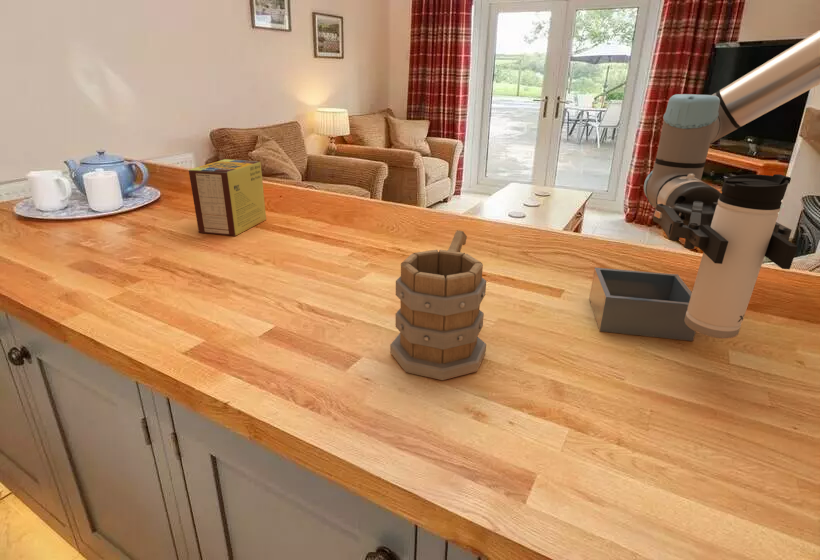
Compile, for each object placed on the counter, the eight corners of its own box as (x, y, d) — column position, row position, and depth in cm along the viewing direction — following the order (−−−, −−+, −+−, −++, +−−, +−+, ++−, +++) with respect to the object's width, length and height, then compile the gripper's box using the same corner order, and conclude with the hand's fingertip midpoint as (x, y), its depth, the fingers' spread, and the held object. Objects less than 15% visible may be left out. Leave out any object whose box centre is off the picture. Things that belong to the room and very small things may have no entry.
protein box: (267, 219, 132) (261, 160, 125) (235, 236, 118) (227, 171, 112) (232, 216, 134) (224, 158, 128) (197, 232, 120) (186, 169, 114)
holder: (670, 305, 86) (678, 274, 84) (693, 341, 75) (703, 305, 72) (589, 298, 88) (594, 267, 86) (599, 331, 77) (606, 296, 75)
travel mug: (751, 340, 62) (807, 181, 54) (699, 338, 62) (747, 179, 54) (723, 317, 67) (769, 170, 59) (675, 315, 67) (715, 169, 59)
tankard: (470, 387, 63) (478, 279, 57) (379, 367, 67) (378, 264, 61) (500, 320, 80) (508, 231, 74) (426, 307, 84) (429, 222, 78)
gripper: (629, 177, 76) (671, 216, 55) (766, 184, 73) (865, 229, 52) (620, 223, 79) (656, 277, 58) (751, 233, 76) (840, 294, 55)
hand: (755, 255), depth 55 cm, fingers closed on travel mug, 6 cm apart
